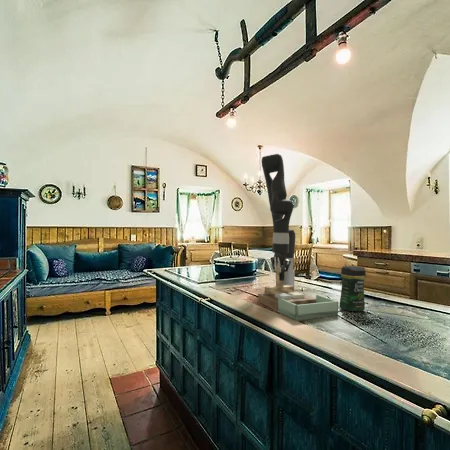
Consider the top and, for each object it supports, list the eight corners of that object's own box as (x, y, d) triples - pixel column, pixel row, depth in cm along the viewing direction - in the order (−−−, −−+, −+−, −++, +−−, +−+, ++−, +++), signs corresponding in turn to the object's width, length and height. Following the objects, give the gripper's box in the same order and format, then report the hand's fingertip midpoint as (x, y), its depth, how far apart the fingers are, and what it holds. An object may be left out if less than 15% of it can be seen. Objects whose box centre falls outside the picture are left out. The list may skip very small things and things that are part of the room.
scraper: (290, 291, 140) (290, 262, 141) (293, 292, 138) (294, 262, 138) (264, 293, 135) (265, 262, 135) (267, 294, 132) (268, 263, 132)
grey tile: (284, 296, 131) (284, 293, 131) (291, 299, 127) (291, 295, 127) (274, 297, 129) (274, 293, 129) (281, 299, 125) (281, 296, 125)
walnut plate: (294, 298, 142) (294, 291, 142) (316, 307, 128) (317, 299, 128) (258, 301, 135) (258, 294, 135) (277, 311, 120) (277, 302, 120)
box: (317, 307, 127) (317, 294, 127) (338, 315, 116) (338, 301, 116) (278, 311, 120) (278, 298, 120) (296, 320, 109) (296, 305, 109)
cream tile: (297, 295, 134) (297, 292, 134) (304, 297, 129) (304, 294, 129) (288, 296, 132) (288, 292, 132) (294, 298, 127) (295, 295, 127)
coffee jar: (349, 313, 120) (350, 267, 120) (336, 307, 127) (337, 265, 127) (368, 311, 123) (369, 267, 123) (354, 306, 130) (355, 264, 130)
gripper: (296, 243, 132) (295, 282, 132) (279, 241, 144) (278, 277, 144) (282, 243, 129) (281, 283, 129) (266, 241, 142) (265, 277, 141)
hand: (279, 279), depth 136 cm, fingers closed on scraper, 2 cm apart
